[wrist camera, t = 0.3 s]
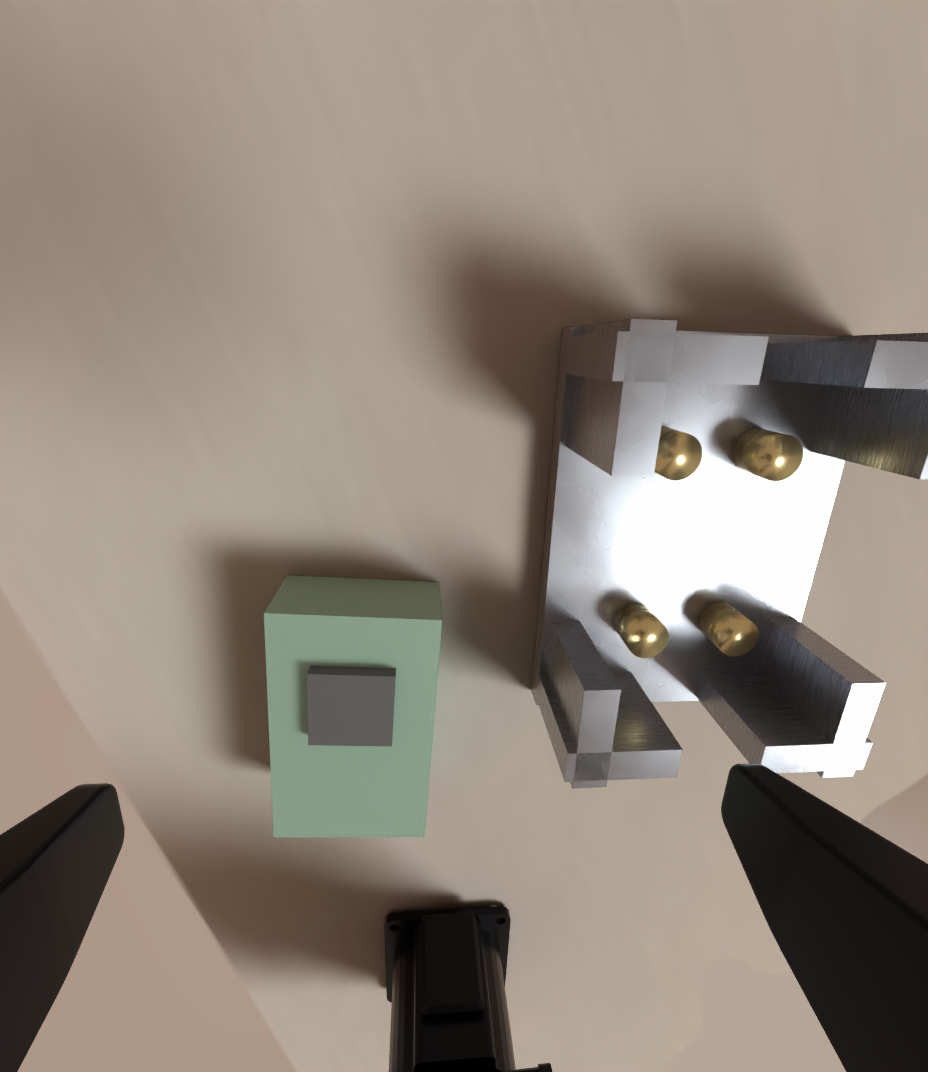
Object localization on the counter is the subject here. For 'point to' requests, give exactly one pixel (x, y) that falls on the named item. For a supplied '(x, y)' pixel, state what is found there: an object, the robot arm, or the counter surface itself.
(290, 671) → the green block
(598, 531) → the chassis
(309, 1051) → the counter surface
